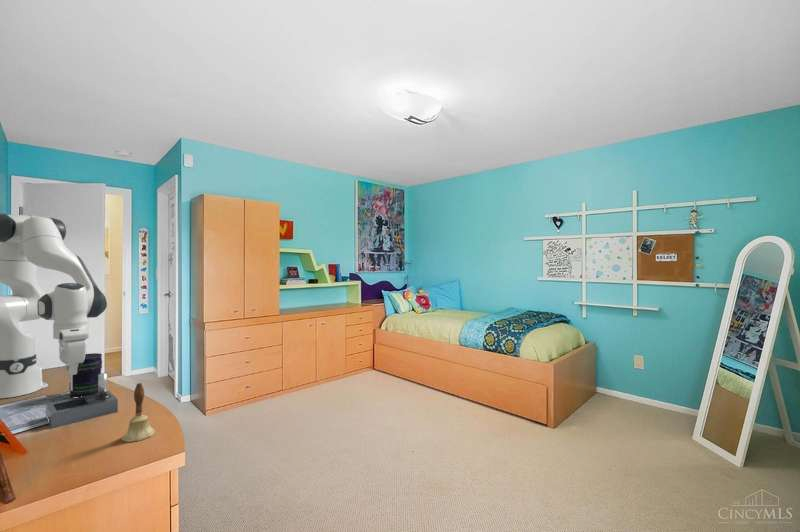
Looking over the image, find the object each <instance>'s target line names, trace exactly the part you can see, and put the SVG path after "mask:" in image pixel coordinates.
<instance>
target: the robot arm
mask: <svg viewBox="0 0 800 532" xmlns="http://www.w3.org/2000/svg"><path fill="white" fill-rule="evenodd" d="M66 228H67V227H66V225H65V223H64V222H63V220H60V219H57V218H53V217H45V216H44V217H43V216H39V215H32V214H31V215H30V214H29V215H25V214H7V213H0V283H1V284H3V285H5V286H8V287H9V288H10V289H11V294H8V295H7V294H6V295H0V399H8V398H15V397H20V396H24V395H30V394H31V393H35V392H37V391H39V390H41V389H45V388H47V387H49V384H48V383H46V382H44V381H43V374H42V373H43V372H42V371H43V370H42V367H41V366H38V365H37V360H38V358H37V354H36V346H35V345H36V343H35V340H36V339H35V336H34V334H32V333H31V332H28V331H26V330H24V329H22V328H21V325H20V322H29V321H35V320H36V321H37V320H39V319H44V320H46V321H53V324H52V325H53V326H52V338H53V339H54V340H58V341H57V342H58V344H59V345H58V353H59V355H60V353H61V351H62V350H63V349H64V350H65V360H66V361H67V362H68V363H69V364H65V363H64V365H65V371H66V372H69V375H75V374H77V368H78V363H83V362H84V359H85V354H87V353H86V351H87V340H88V339H89V337H90V336H89V335H90V333H89V318H97V317H99V316H100V315H102V314H103V313H104V312H105V310H106V309H107V306H108V304H107V303H108V302H107V298H106V296H105V295H104V293H103V292H102V291H101V290H100V289H99V287H98V285H97V284H96V282H95V281H94V279H93V277H92V275H91V273H90V271H89V270H88V267H87V266H86V264H85V262H84V261H83V260H82V258H81V257H80V256H78V255H77V254H74V253H73V252H72V251H71V250H69V249H68V247H67V246H66V245H65V242H64V240H65V238H66V235H67V229H66ZM38 267H39V268H43V269H46V270H53V271H57V272H61V273H64V274H66V275H68V276H70V277H72V279H73V280H74V282H75V283H73V282H64V283H59V284H57V285H56V286H55V288H54V290H53V291H51V292H49V293H46V292H45V291H44V290H43V289H42V287H41V286H40V284H39V281H38V280H39V279H38Z"/></svg>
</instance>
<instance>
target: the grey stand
mask: <svg viewBox="0 0 800 532" xmlns="http://www.w3.org/2000/svg"><path fill="white" fill-rule="evenodd" d="M118 402H119V400H118V398H117V397H116V396H115V395H114V394H113V393H112V392H111V391H109V390H108V373H107V372H101V374H98V393H97V394H92V395H87V396H82V397H78V398H68V399H65V400H58V401H55V402H50V403H46V404H45V417H46V416H47V417H48V419H49V423H48V424H49V426H50V428H51V429H54V428H58V427H62V426H65V425H69V424H74V423H77V422H82V421H86V420H90V419H94V418H99V417H102V416H105V415H106V416H107V415H109V414H113V413H118V412H119V411H118V407H119V406H118V405H119V403H118Z"/></svg>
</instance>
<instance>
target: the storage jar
mask: <svg viewBox="0 0 800 532" xmlns="http://www.w3.org/2000/svg"><path fill="white" fill-rule="evenodd" d="M102 355H103V354H102V353H95V352H94V353H85V359H84V362H83V363H78V368H77V374H75V375H72V391H71V389H70V386H69V387H68V388H69V398H70V397H81V396H87V395H92V394H97V393H98V374H101V373H102V369H103V365H102V364H103V360H102V359H103V358H102V357H103V356H102Z"/></svg>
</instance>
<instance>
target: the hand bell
mask: <svg viewBox="0 0 800 532" xmlns="http://www.w3.org/2000/svg"><path fill="white" fill-rule="evenodd" d="M133 391H134V392H133V399H134V402H135V414H134V416H132V418H130V420H129V425H128V429H127V431H126V432H125V433H124V435H122V438H121V441H123V442H126V443H132V442H133V443H134V442H140V441H143V440H146V439H149V438H150V437H153V436H154V435H155V434H156V430H155V428H153V427H151V425H150V422H149V417H148V415H144V414H143V401H144V399H145V389H144V386H143V383H141V382H137V383H136V385H135V389H134V390H133Z"/></svg>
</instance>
